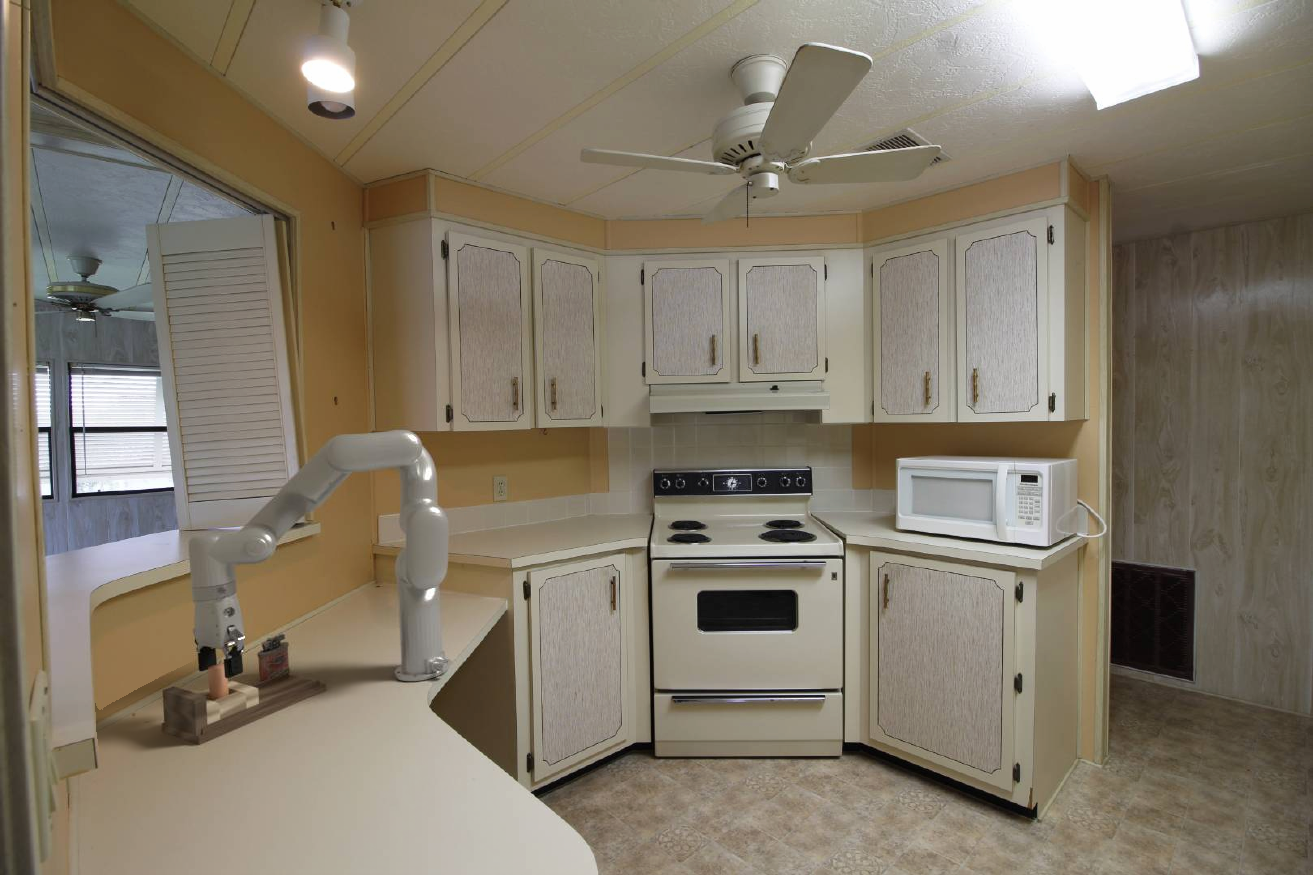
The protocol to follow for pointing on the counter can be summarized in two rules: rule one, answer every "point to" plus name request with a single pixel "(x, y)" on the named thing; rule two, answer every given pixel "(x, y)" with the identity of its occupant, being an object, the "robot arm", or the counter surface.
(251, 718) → the rail board
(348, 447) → the robot arm
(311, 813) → the counter surface
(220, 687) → the dowel
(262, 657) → the lighter
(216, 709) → the block
